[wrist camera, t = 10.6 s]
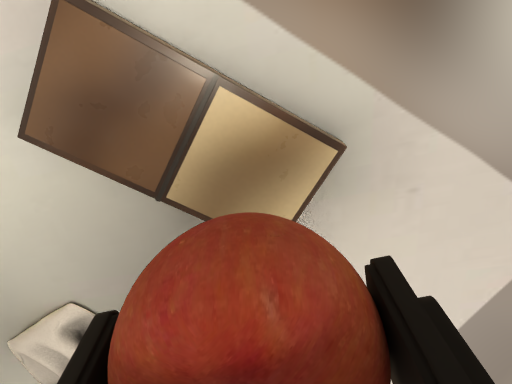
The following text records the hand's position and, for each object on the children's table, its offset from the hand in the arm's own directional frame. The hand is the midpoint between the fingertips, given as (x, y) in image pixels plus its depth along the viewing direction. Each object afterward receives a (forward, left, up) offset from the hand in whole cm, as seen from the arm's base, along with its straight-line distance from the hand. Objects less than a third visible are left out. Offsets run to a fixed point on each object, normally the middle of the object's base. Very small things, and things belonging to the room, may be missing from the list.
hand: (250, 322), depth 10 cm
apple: (0, 0, -3) cm, 3 cm away
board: (-3, +3, -13) cm, 14 cm away
